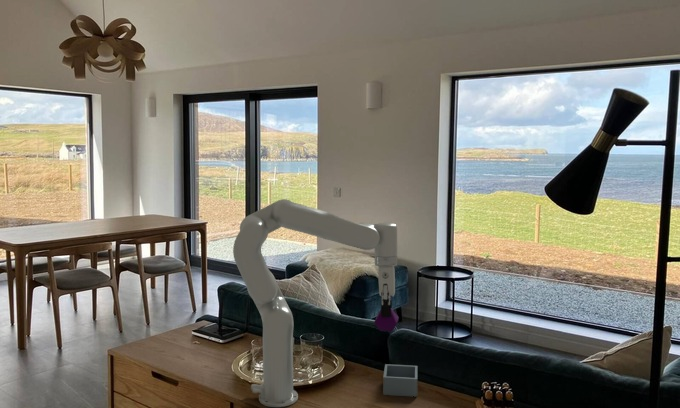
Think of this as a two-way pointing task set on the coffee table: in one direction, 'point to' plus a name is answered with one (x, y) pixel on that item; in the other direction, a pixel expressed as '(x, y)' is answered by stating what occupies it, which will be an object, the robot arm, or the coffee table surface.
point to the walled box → (400, 380)
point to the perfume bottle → (386, 320)
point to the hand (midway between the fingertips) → (386, 313)
